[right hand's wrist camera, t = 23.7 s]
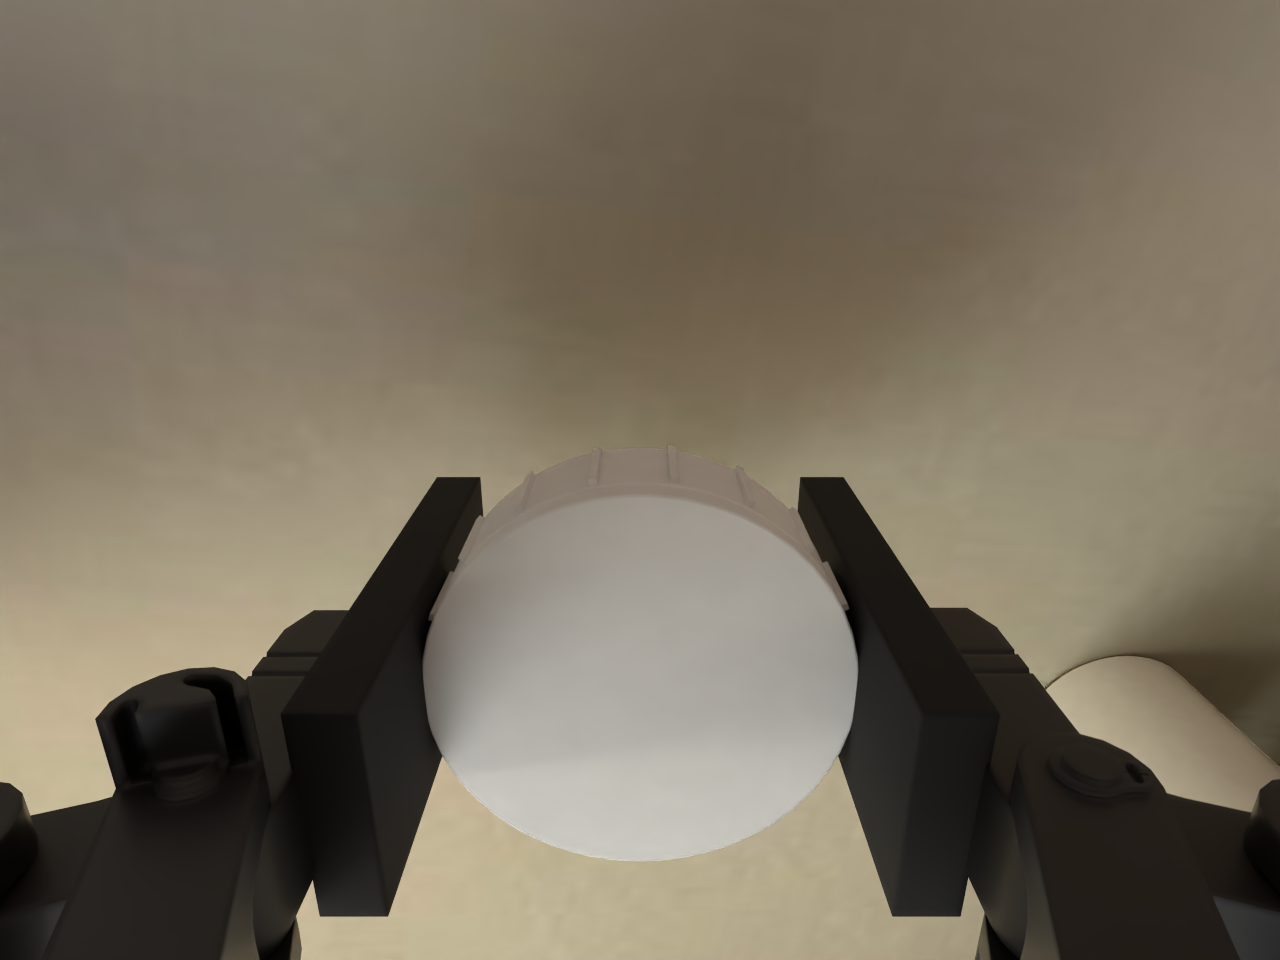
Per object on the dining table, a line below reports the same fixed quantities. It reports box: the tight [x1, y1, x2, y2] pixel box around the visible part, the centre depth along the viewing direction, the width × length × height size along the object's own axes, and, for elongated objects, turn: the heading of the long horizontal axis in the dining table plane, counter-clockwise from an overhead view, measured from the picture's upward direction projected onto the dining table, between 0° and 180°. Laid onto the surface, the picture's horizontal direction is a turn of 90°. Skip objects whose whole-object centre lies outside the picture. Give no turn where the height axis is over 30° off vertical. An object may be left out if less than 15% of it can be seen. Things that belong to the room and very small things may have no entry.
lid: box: [422, 445, 858, 861], centre depth 11 cm, size 6×6×2 cm
